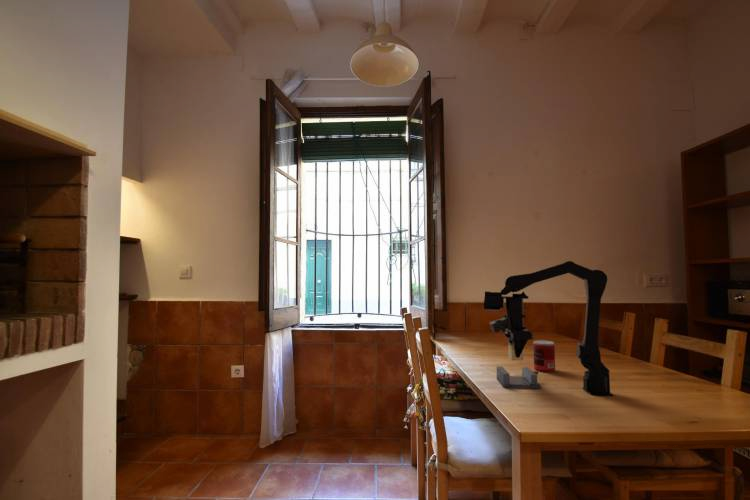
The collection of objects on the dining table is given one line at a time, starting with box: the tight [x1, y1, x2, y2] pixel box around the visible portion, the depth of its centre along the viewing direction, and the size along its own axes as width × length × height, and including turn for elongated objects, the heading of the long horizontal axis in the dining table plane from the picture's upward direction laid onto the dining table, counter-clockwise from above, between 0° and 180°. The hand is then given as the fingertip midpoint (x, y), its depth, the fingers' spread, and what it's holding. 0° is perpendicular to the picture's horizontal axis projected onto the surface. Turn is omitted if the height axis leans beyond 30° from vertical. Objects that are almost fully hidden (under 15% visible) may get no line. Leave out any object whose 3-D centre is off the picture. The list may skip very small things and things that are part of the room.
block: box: [507, 342, 524, 361], centre depth 127 cm, size 4×4×5 cm
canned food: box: [532, 339, 556, 373], centre depth 145 cm, size 8×8×11 cm
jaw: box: [521, 366, 539, 384], centre depth 126 cm, size 5×10×3 cm, turn 174°
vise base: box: [496, 365, 541, 390], centre depth 127 cm, size 12×10×5 cm
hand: (515, 356), depth 127 cm, fingers closed on block, 4 cm apart
